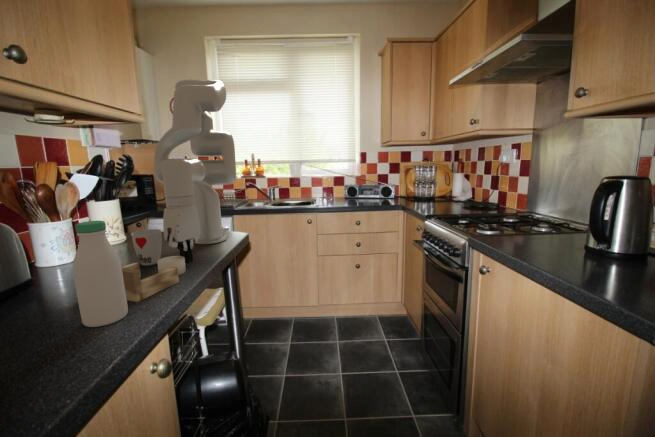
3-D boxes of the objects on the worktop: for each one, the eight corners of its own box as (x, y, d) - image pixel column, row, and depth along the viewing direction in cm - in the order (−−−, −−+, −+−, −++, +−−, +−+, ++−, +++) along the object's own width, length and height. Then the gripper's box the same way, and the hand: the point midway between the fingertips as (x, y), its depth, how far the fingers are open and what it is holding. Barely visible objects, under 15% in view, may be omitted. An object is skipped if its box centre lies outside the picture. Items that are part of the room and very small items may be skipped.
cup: (130, 264, 97) (125, 233, 95) (154, 257, 104) (150, 228, 102) (146, 268, 93) (141, 236, 91) (170, 260, 100) (166, 230, 98)
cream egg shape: (172, 267, 93) (171, 254, 93) (191, 269, 91) (189, 256, 90) (153, 275, 87) (151, 262, 86) (172, 278, 85) (170, 264, 84)
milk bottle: (132, 317, 63) (118, 221, 59) (85, 333, 58) (66, 228, 54) (123, 305, 69) (110, 217, 65) (79, 318, 63) (62, 222, 60)
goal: (136, 276, 87) (133, 252, 85) (179, 281, 82) (176, 256, 80) (91, 294, 75) (86, 266, 74) (137, 302, 70) (133, 272, 69)
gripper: (188, 198, 99) (194, 254, 102) (148, 205, 85) (156, 269, 88) (208, 199, 96) (213, 255, 100) (170, 206, 82) (177, 271, 86)
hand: (187, 262), depth 94 cm, fingers closed
